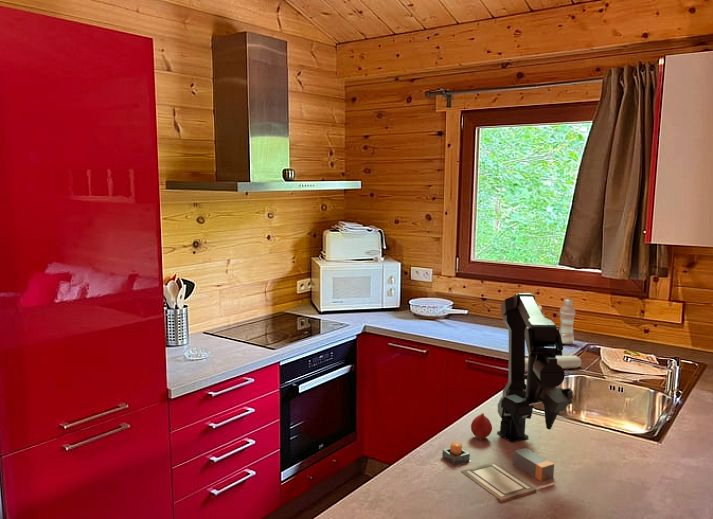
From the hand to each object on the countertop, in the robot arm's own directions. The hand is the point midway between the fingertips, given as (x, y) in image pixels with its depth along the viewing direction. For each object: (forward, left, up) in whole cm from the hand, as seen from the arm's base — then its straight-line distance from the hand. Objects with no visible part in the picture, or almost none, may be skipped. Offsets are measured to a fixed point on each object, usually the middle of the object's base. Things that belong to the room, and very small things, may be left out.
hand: (534, 432), depth 155 cm
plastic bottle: (-96, -80, -11) cm, 126 cm away
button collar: (+14, -13, -10) cm, 22 cm away
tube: (-65, -58, -11) cm, 88 cm away
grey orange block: (0, 0, -11) cm, 11 cm away
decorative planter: (-93, -101, -11) cm, 138 cm away
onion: (0, -20, -11) cm, 23 cm away
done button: (+14, -13, -9) cm, 21 cm away
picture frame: (+11, 0, -11) cm, 16 cm away
